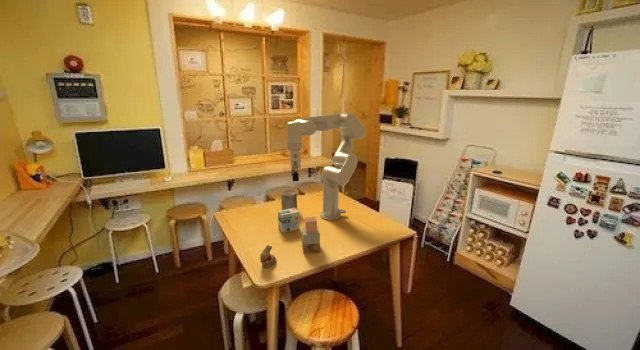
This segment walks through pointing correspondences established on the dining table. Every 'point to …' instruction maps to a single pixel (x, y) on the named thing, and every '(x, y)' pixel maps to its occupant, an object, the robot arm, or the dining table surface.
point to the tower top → (310, 237)
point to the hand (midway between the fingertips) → (295, 178)
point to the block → (311, 224)
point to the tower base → (310, 248)
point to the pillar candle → (289, 199)
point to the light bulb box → (288, 220)
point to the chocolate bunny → (267, 257)
